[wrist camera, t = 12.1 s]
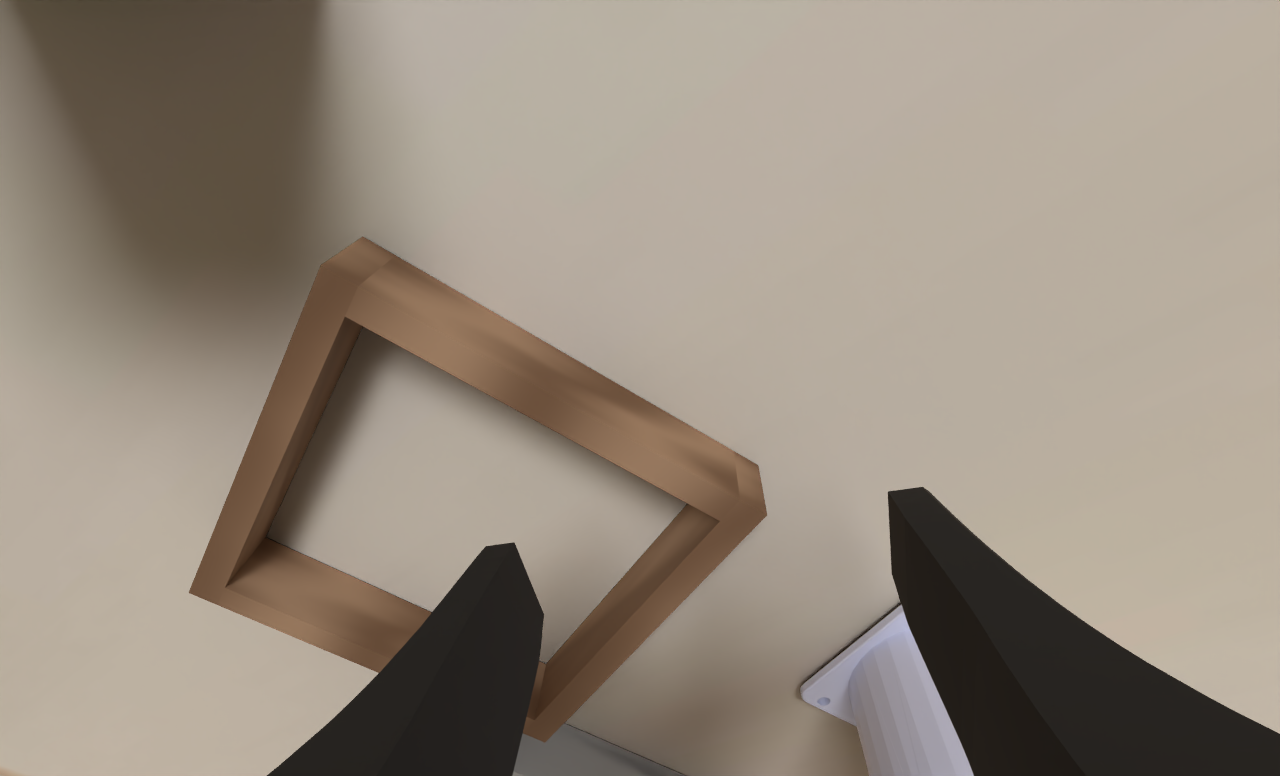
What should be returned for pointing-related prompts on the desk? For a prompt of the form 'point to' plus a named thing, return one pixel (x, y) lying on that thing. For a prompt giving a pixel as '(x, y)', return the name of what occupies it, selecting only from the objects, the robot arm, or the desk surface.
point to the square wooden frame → (517, 376)
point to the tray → (581, 757)
